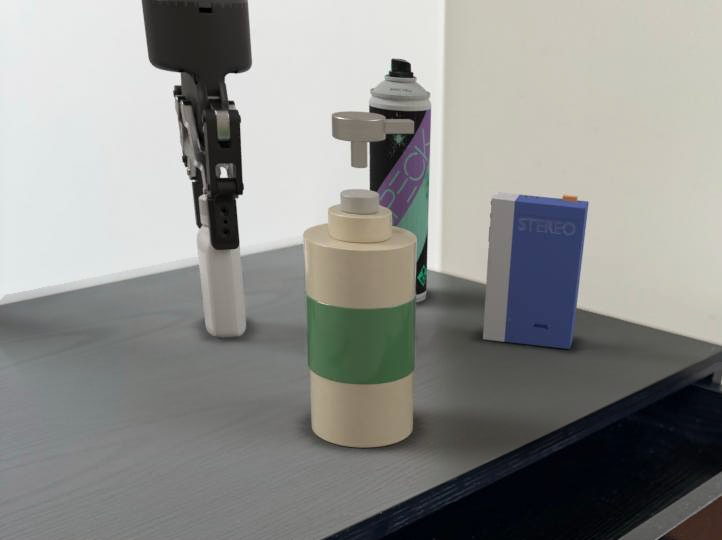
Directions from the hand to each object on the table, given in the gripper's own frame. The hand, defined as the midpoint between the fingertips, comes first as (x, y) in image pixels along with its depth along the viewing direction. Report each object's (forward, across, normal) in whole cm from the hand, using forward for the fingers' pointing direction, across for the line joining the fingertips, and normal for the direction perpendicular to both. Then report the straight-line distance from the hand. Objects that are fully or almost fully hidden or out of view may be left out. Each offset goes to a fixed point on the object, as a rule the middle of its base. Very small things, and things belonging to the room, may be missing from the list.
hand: (217, 237), depth 80 cm
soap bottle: (+7, +23, +5) cm, 25 cm away
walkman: (+8, +9, +25) cm, 28 cm away
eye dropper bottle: (+8, 0, 0) cm, 8 cm away
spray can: (+8, -6, +18) cm, 20 cm away
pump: (-9, +23, +6) cm, 26 cm away
